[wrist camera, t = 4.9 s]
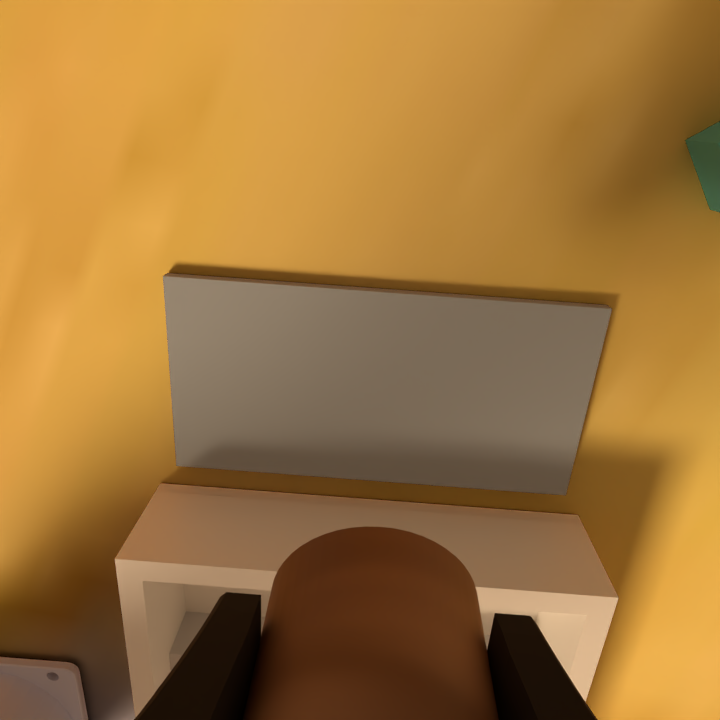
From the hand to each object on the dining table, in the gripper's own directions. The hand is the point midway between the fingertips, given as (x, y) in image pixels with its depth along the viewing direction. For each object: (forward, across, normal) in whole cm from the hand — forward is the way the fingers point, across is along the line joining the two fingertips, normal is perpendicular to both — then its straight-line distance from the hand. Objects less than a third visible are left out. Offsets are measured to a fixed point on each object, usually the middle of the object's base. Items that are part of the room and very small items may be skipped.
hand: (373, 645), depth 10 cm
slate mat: (+10, 0, 0) cm, 10 cm away
